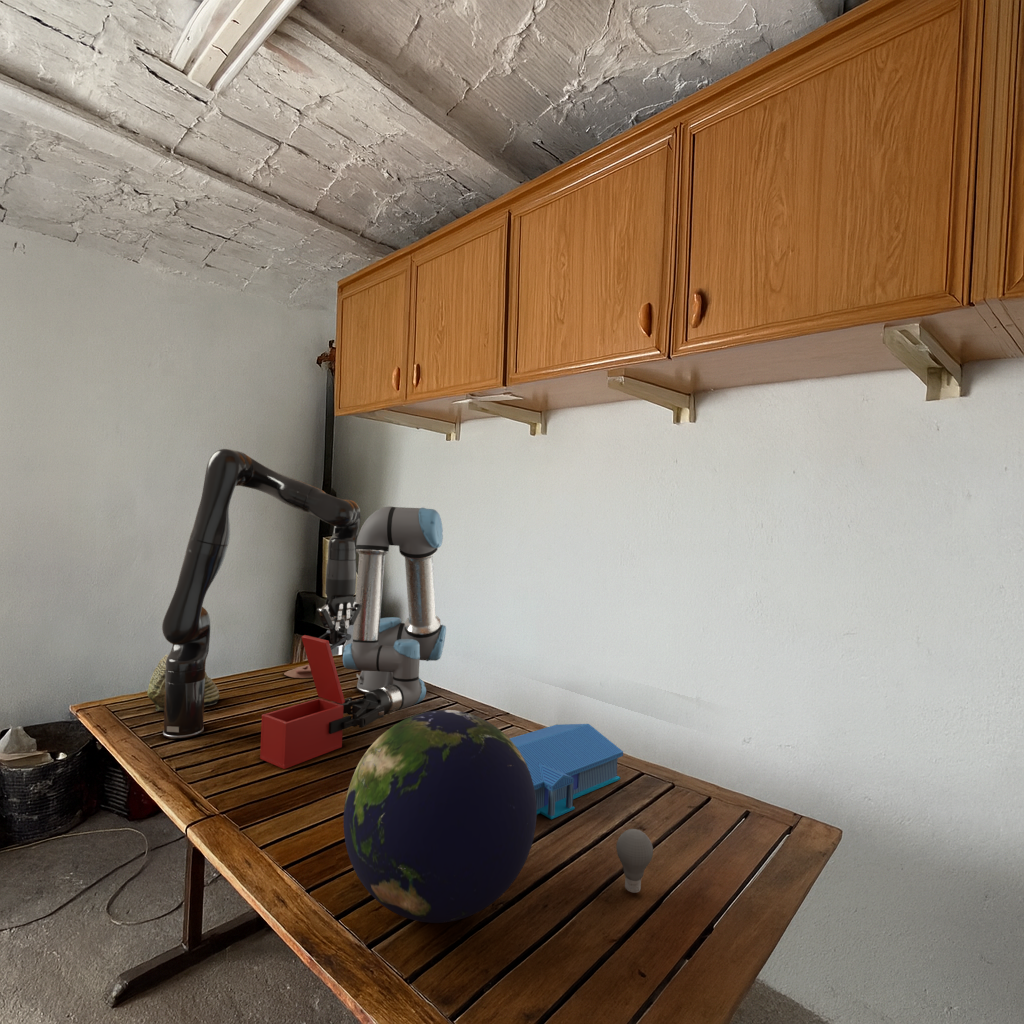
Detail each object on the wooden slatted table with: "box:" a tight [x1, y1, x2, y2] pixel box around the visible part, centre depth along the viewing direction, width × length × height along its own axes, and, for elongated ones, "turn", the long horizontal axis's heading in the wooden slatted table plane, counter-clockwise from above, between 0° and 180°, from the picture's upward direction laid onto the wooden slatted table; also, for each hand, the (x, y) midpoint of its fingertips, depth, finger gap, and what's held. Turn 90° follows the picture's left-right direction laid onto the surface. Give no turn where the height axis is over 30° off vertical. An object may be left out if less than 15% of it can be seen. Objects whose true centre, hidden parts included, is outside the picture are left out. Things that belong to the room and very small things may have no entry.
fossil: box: [147, 654, 221, 712], centre depth 185 cm, size 9×18×15 cm, turn 132°
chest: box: [259, 697, 344, 770], centre depth 156 cm, size 17×9×11 cm, turn 146°
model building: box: [509, 723, 624, 820], centre depth 142 cm, size 39×24×10 cm, turn 132°
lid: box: [301, 629, 352, 704], centre depth 163 cm, size 18×9×8 cm
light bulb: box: [615, 828, 654, 894], centre depth 106 cm, size 6×6×10 cm
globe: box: [343, 709, 538, 924], centre depth 100 cm, size 30×30×30 cm
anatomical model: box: [283, 664, 313, 679], centre depth 222 cm, size 13×4×12 cm
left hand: (338, 643), depth 164 cm, fingers closed, pressing on lid
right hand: (316, 723), depth 159 cm, fingers closed on chest, 9 cm apart
